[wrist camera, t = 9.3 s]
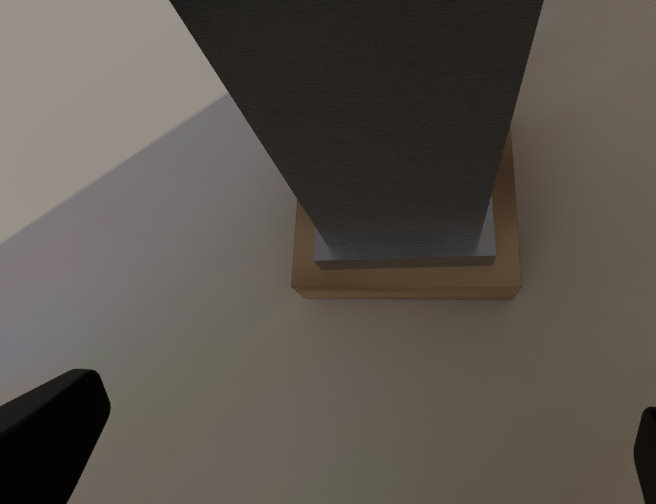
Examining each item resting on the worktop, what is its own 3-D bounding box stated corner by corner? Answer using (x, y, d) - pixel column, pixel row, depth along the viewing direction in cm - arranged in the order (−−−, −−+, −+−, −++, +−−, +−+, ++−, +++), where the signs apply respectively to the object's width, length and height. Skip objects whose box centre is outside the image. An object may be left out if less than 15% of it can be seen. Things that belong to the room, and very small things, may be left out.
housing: (491, 265, 17) (697, -242, 4) (320, 270, 18) (21, -103, 5) (481, 113, 19) (592, -590, 6) (326, 126, 20) (117, -424, 7)
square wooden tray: (512, 299, 18) (526, 279, 15) (304, 298, 20) (283, 279, 17) (500, 112, 21) (511, 65, 18) (315, 125, 22) (298, 84, 19)
